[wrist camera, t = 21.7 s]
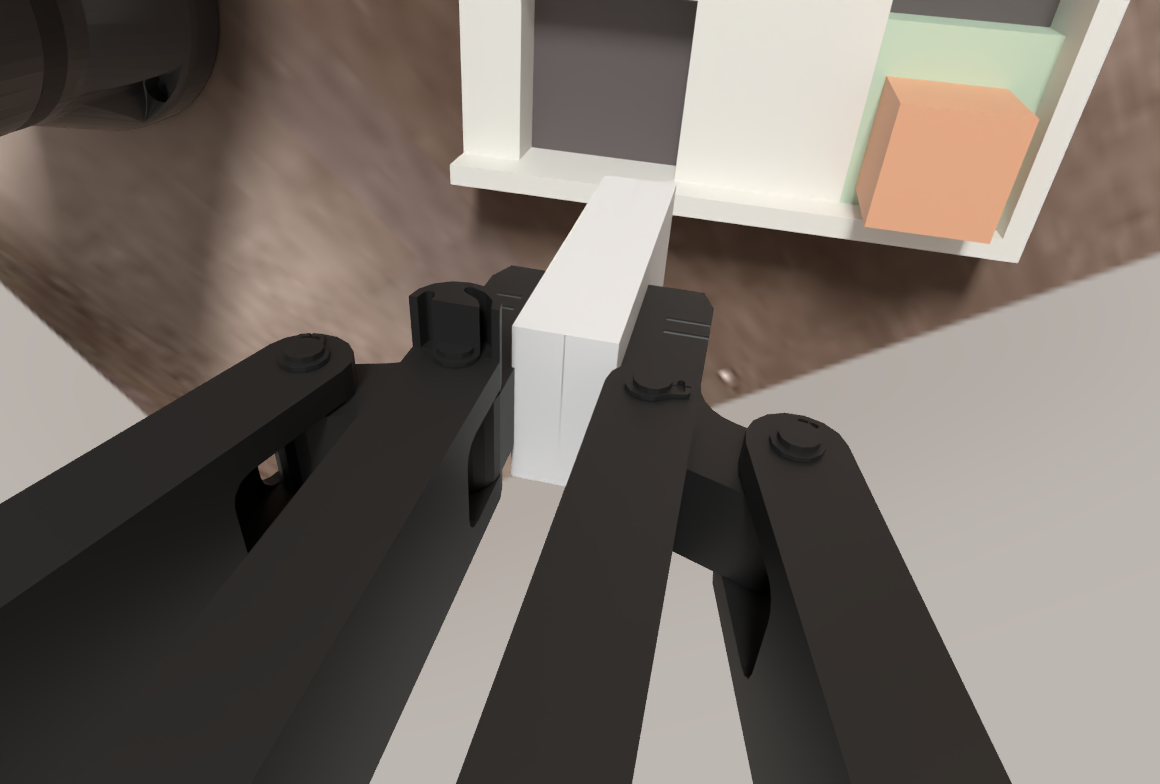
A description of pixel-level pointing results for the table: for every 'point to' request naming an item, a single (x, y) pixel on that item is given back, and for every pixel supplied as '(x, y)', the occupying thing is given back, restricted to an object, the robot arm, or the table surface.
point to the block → (942, 158)
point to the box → (758, 99)
